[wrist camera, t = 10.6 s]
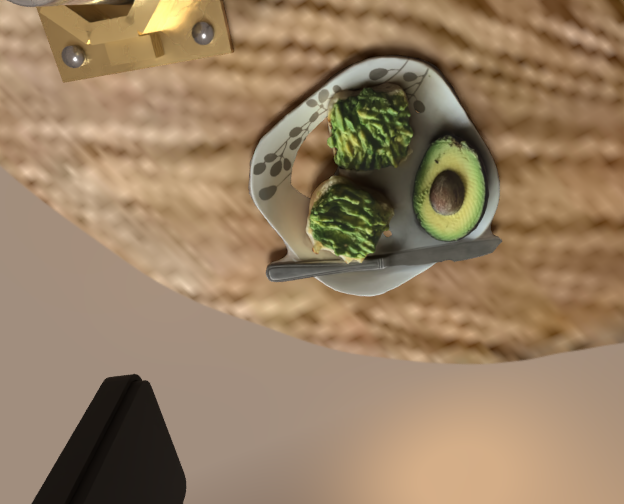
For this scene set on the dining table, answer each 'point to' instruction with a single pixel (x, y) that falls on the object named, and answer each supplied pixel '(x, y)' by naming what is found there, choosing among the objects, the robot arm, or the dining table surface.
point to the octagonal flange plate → (133, 35)
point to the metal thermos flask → (68, 2)
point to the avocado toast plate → (379, 180)
